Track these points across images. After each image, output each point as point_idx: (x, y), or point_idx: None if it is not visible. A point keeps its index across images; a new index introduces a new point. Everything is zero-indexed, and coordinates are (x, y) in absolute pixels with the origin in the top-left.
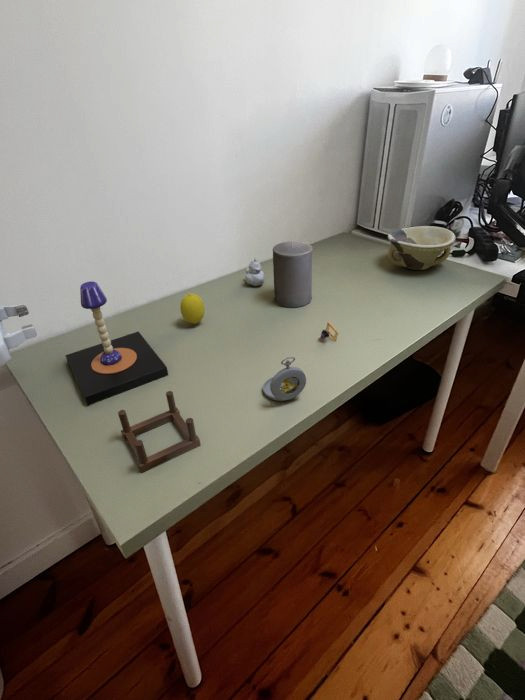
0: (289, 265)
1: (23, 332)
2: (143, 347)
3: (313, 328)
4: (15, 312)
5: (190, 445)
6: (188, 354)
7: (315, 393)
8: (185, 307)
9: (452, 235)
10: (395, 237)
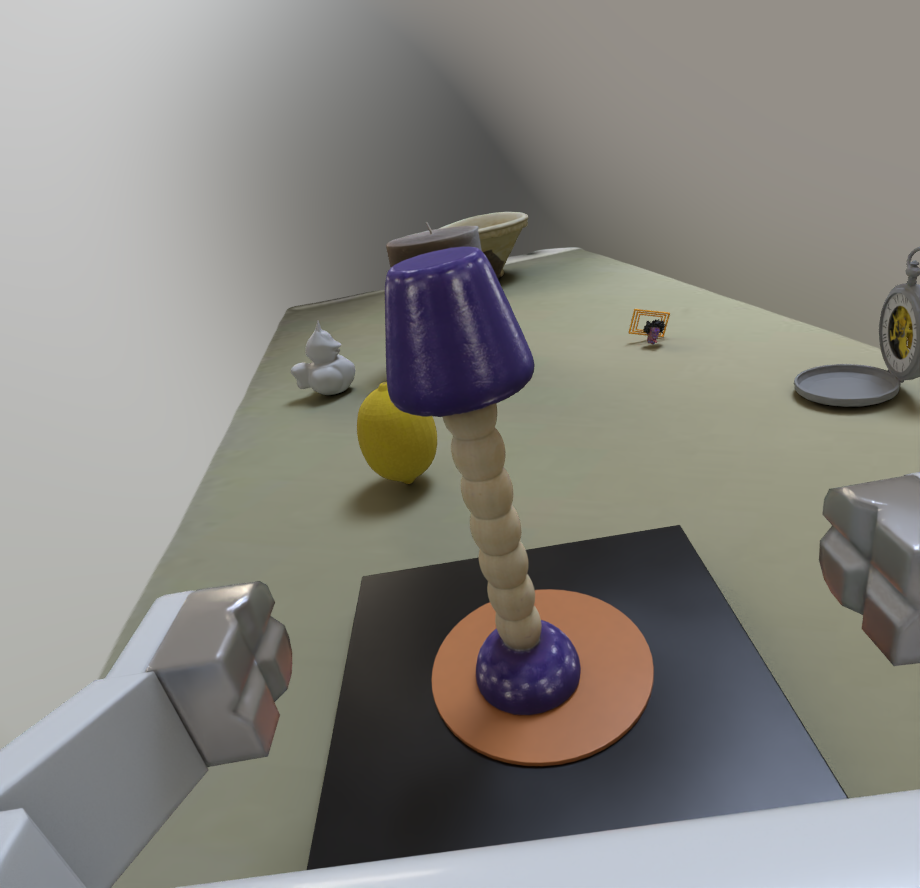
0: None
1: None
2: None
3: (596, 351)
4: (171, 752)
5: None
6: (575, 506)
7: (863, 362)
8: (408, 423)
9: (505, 212)
10: None
